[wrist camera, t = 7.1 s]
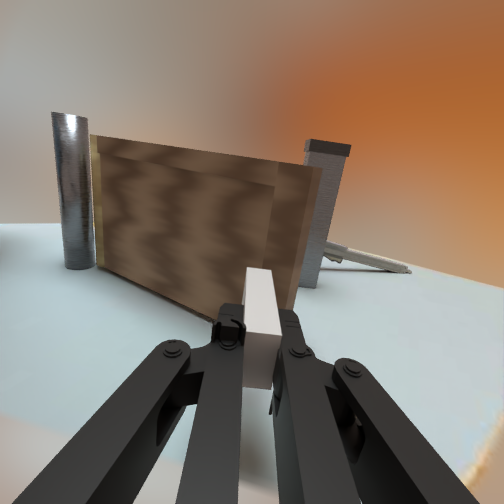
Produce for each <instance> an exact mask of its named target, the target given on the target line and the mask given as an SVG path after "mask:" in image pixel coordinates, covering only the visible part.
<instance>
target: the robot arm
mask: <svg viewBox="0 0 504 504" xmlns="http://www.w3.org/2000/svg"><path fill="white" fill-rule="evenodd" d="M272 382H273V388H274V390H273V395H272V400H271V405H270V410H269V415H271V414H272V412H273V425H274V438H275V451H276V465H277V478H278V491H279V504H361V502H362V504H480V503H479V502H478V501H477V500H476V499H475V497H474V496H473V495H472V494H471V493H470V491H469V490H468V489H467V488H466V487H465V485H464V484H463V483H462V482H461V481H460V479H459V478H458V477H457V476H456V475H455V474H454V472H453V471H452V470H451V469H450V468H449V466H448V465H447V464H446V463H445V462H444V460H443V459H442V458H441V457H440V456H439V454H438V453H437V452H436V451H435V450H434V448H433V447H432V446H431V445H430V444H429V442H428V441H427V440H426V439H425V438H424V436H423V435H422V434H421V433H420V432H419V430H418V429H417V428H416V427H415V426H414V424H413V423H412V422H411V421H410V420H409V418H408V417H407V416H406V415H405V414H404V412H403V411H402V410H401V409H400V408H399V406H398V405H397V404H396V403H395V402H394V400H393V399H392V398H391V397H390V396H389V394H388V393H387V392H386V391H385V390H384V389H383V387H382V386H381V385H380V384H379V383H378V381H377V380H376V379H375V378H374V377H373V375H372V374H371V373H370V372H369V371H368V369H367V368H366V367H365V366H363V365H362V364H361V363H359V362H357V361H355V360H352V359H349V358H341V359H338V360H337V361H336V362H335V365H332V364H329V363H326V362H324V361H321V360H319V359H317V358H316V357H315V354H314V352H313V351H312V349H311V348H310V347H308V346H307V345H306V343H305V339H304V336H303V332H302V329H301V325H300V322H299V318H298V316H297V315H296V314H295V312H294V311H293V310H287V309H279V308H277V302H276V296H275V290H274V284H273V278H272V272H271V270H266V269H258V268H250V267H247V271H246V278H245V285H244V292H243V299H242V305H240V304H232V303H224V304H223V305H222V306H221V307H220V309H219V313H218V318H217V320H216V321H215V322H214V323H213V327H212V336H211V342H210V343H209V344H207V345H206V346H203V347H200V348H193V349H190V346H189V345H188V344H187V343H186V342H184V341H181V340H175V339H174V340H167V341H164V342H162V343H160V344H159V345H158V346H156V347H155V349H154V350H153V351H152V352H151V353H150V354H149V355H148V356H147V357H146V358H145V359H144V360H143V362H142V363H141V364H140V365H139V366H138V367H137V368H136V369H135V370H134V371H133V372H132V374H131V375H130V376H129V377H128V378H127V379H126V380H125V381H124V382H123V383H122V384H121V385H120V387H119V388H118V389H117V390H116V391H115V392H114V393H113V394H112V395H111V396H110V397H109V399H108V400H107V401H106V402H105V403H104V404H103V405H102V406H101V407H100V408H99V409H98V410H97V412H96V413H95V414H94V415H93V416H92V417H91V418H90V419H89V420H88V421H87V422H86V424H85V425H84V426H83V427H82V428H81V429H80V430H79V431H78V432H77V433H76V434H75V435H74V437H73V438H72V439H71V440H70V441H69V442H68V443H67V444H66V445H65V446H64V447H63V449H62V450H61V451H60V452H59V453H58V454H57V455H56V456H55V457H54V458H53V459H52V461H51V462H50V463H49V464H48V465H47V466H46V467H45V468H44V469H43V470H42V472H41V473H39V475H38V476H37V477H36V478H35V479H34V480H33V481H32V482H31V483H30V485H28V487H27V488H26V489H25V490H24V491H23V492H22V493H21V494H20V495H19V496H18V498H16V500H15V501H14V502H13V503H12V504H133V502H134V500H135V498H136V496H137V495H138V493H139V491H140V490H141V488H142V486H143V484H144V482H145V481H146V479H147V477H148V475H149V473H150V472H151V470H152V468H153V466H154V465H155V463H156V461H157V459H158V457H159V456H160V454H161V452H162V450H163V449H164V447H165V445H166V443H167V441H168V440H169V438H170V436H171V434H172V432H173V431H174V429H175V427H176V425H177V424H178V422H179V420H180V418H181V416H182V415H183V413H184V411H185V409H186V406H188V405H193V404H197V408H196V412H195V417H194V421H193V426H192V430H191V435H190V439H189V444H188V449H187V453H186V458H185V462H184V467H183V471H182V476H181V480H180V485H179V489H178V494H177V499H176V503H175V504H238V481H239V456H240V432H241V407H242V387H250V388H259V389H268V390H271V387H272ZM360 500H361V502H360Z"/></svg>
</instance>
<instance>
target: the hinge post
mask: <svg viewBox="0 0 504 504" xmlns="http://www.w3.org/2000/svg"><path fill="white" fill-rule="evenodd" d="M51 116H52V126H53V137H54V149H55V160H56V170H57V181H58V192H59V203H60V213H61V225H62V236H63V247H64V258H65V267H66V268H68V269H73V270H81V269H88V268H91V267H93V266H94V265H95V250H94V232H93V213H92V195H91V175H90V157H89V139H88V119H87V118H85V117H80V116H74V115H69V114H63V113H56V112H51Z"/></svg>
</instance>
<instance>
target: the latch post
mask: <svg viewBox="0 0 504 504" xmlns="http://www.w3.org/2000/svg"><path fill="white" fill-rule="evenodd" d="M350 149H351V145H348V144H342V143H335V142H328V141H321V140H314V139H309V140H306V143H305V148H304V152H306V153H305V159H304V164H303V165H305V166H312V167H319V168H323V169H322V174H321V179H320V184H319V188H318V193H317V198H316V203H315V207H314V212H313V217H312V222H311V226H310V231H309V236H308V241H307V245H306V250H305V255H304V260H303V264H302V269H301V274H300V279H299V283H298V286H300V287H308V288H316V283H317V279H318V275H319V271H320V266H321V262H322V258H323V254H324V249H325V245H326V241H327V236H328V232H329V228H330V224H331V219H332V215H333V210H334V206H335V202H336V198H337V194H338V189H339V185H340V181H341V177H342V172H343V168H344V163H345V159H346V157H349V153H350Z"/></svg>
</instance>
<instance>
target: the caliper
mask: <svg viewBox="0 0 504 504" xmlns="http://www.w3.org/2000/svg"><path fill="white" fill-rule="evenodd" d="M323 256H325V257H326V258H328V259H329V260H331V261H336V262H338V263H341V262H342V260H343V259H345V260H349V261H353V262H357V263H361V264H365V265H369V266H373V267H377V268H380V269H384V270H388V271H392V272H395V273H405V272H407V273H412V272H411V271H410V270H409V269H407V268H408V267H407V266H405V265H403V264H400V263H396V262H392V261H389V260H385V259H382V258H378V257H374V256H371V255H367V254H363V253H360V252H356V251H352V250H349V249H348V247H346V246H344V245H340V244H338V243H334V242H331V241H326V245H325V249H324V254H323Z"/></svg>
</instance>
